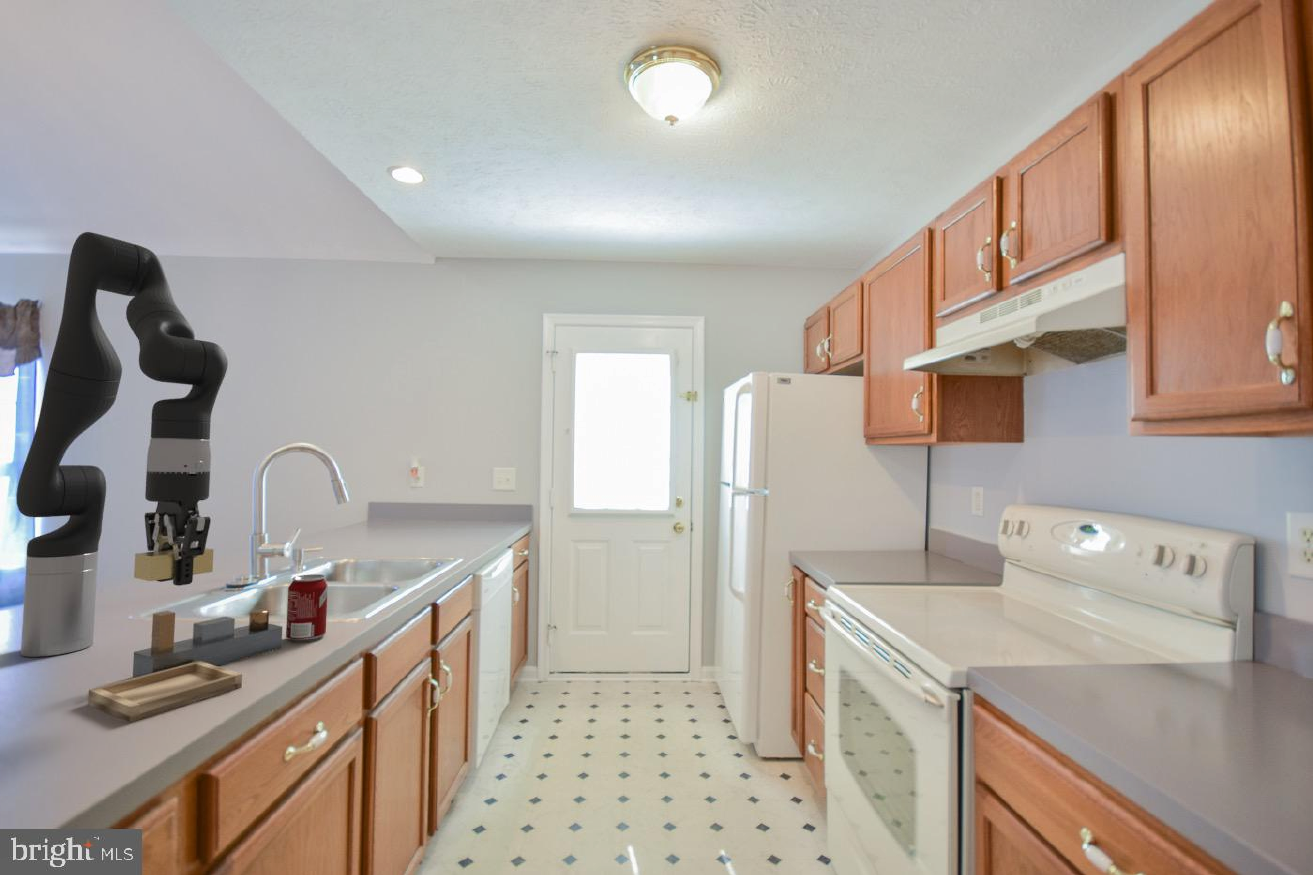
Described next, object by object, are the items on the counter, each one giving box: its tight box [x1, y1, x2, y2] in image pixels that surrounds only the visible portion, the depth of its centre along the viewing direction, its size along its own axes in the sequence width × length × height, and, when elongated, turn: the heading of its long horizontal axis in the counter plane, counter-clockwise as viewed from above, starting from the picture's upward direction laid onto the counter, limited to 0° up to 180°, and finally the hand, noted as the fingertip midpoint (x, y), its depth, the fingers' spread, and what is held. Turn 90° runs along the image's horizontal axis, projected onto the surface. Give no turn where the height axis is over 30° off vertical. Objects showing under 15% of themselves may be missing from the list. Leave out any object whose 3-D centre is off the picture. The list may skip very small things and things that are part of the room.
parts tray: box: [87, 661, 243, 723], centre depth 88 cm, size 12×14×2 cm
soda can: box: [285, 573, 329, 643], centre depth 117 cm, size 7×7×12 cm
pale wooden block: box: [133, 547, 214, 582], centre depth 89 cm, size 4×8×4 cm, turn 154°
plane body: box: [132, 608, 283, 678], centre depth 103 cm, size 20×6×10 cm, turn 154°
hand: (173, 582), depth 89 cm, fingers closed on pale wooden block, 4 cm apart
